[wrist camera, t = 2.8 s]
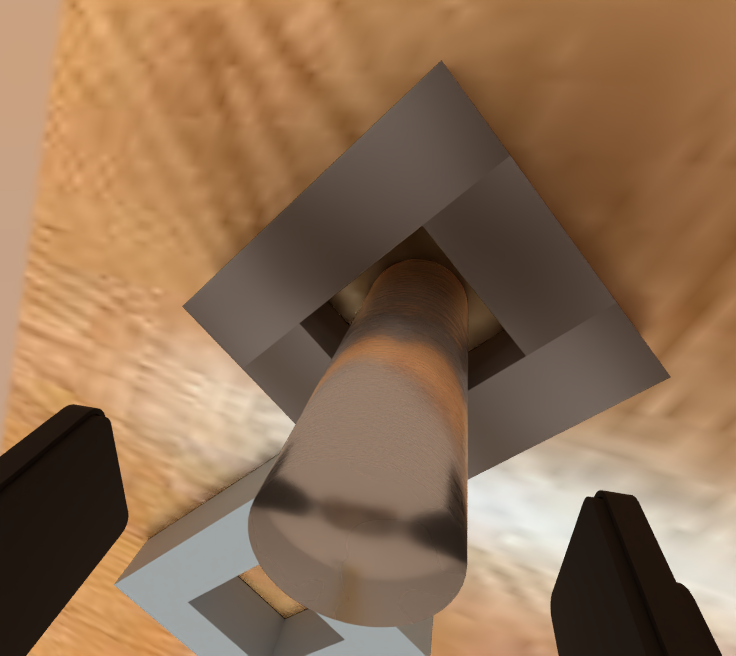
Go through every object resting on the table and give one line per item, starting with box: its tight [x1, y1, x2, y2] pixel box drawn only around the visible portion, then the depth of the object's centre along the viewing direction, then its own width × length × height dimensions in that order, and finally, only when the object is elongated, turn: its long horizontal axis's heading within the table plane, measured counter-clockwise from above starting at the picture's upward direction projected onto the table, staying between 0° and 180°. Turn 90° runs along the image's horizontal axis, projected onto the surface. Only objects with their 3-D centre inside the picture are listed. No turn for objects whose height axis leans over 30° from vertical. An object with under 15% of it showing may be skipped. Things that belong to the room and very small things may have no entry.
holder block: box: [114, 455, 433, 656], centre depth 26 cm, size 12×12×3 cm
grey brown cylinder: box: [248, 259, 468, 627], centre depth 14 cm, size 4×4×12 cm
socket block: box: [182, 60, 670, 480], centre depth 18 cm, size 12×12×3 cm
